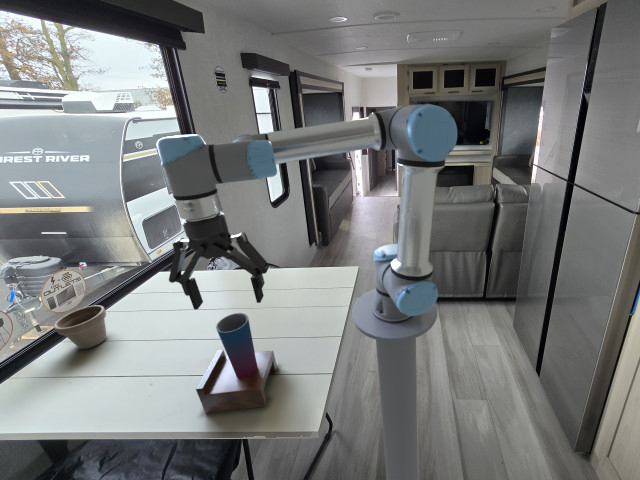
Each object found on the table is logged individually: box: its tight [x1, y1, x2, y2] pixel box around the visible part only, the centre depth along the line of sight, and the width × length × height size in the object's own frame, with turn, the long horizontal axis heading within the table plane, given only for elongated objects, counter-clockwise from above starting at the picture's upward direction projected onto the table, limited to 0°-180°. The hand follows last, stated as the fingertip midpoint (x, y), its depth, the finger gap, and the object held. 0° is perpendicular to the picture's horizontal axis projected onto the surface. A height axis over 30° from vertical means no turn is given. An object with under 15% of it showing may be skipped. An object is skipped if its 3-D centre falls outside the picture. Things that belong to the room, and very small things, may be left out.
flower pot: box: [53, 304, 107, 350], centre depth 96 cm, size 12×11×10 cm
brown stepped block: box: [195, 349, 278, 414], centre depth 78 cm, size 14×12×8 cm
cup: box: [215, 312, 257, 378], centre depth 74 cm, size 7×7×15 cm
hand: (229, 302), depth 70 cm, fingers open, 13 cm apart
